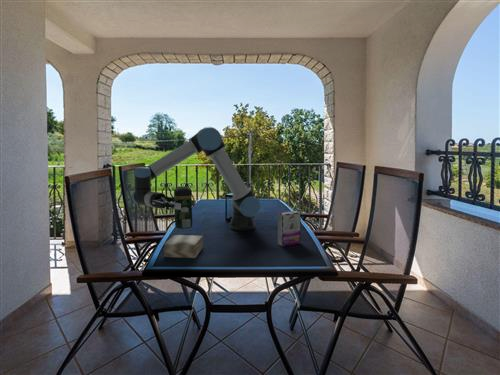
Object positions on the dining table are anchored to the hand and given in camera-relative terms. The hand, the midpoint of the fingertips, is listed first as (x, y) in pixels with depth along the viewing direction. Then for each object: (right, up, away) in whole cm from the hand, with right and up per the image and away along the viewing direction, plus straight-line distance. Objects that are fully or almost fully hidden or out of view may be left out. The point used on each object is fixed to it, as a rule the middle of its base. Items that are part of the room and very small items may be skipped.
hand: (188, 205), depth 139 cm
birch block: (-3, -22, +5) cm, 23 cm away
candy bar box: (+48, -21, +17) cm, 55 cm away
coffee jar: (-3, -10, +3) cm, 11 cm away
